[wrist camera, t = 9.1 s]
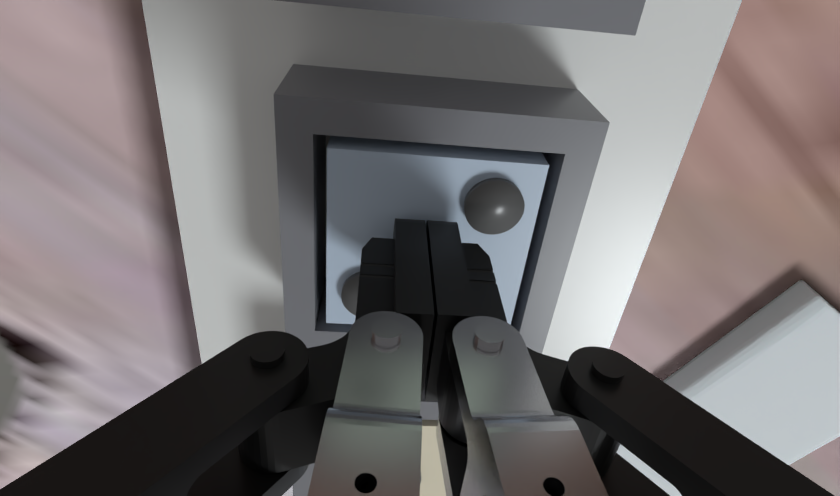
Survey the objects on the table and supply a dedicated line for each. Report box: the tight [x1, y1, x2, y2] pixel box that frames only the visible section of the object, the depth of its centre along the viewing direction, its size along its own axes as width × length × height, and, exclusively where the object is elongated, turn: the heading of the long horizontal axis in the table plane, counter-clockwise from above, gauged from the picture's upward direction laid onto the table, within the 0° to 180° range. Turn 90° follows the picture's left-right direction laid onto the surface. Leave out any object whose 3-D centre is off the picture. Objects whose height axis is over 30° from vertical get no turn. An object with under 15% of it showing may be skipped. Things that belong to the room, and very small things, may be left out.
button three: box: [326, 136, 549, 325], centre depth 14 cm, size 5×5×3 cm
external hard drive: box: [616, 280, 840, 496], centre depth 24 cm, size 2×8×12 cm
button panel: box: [142, 0, 742, 496], centre depth 15 cm, size 14×27×4 cm, turn 174°
